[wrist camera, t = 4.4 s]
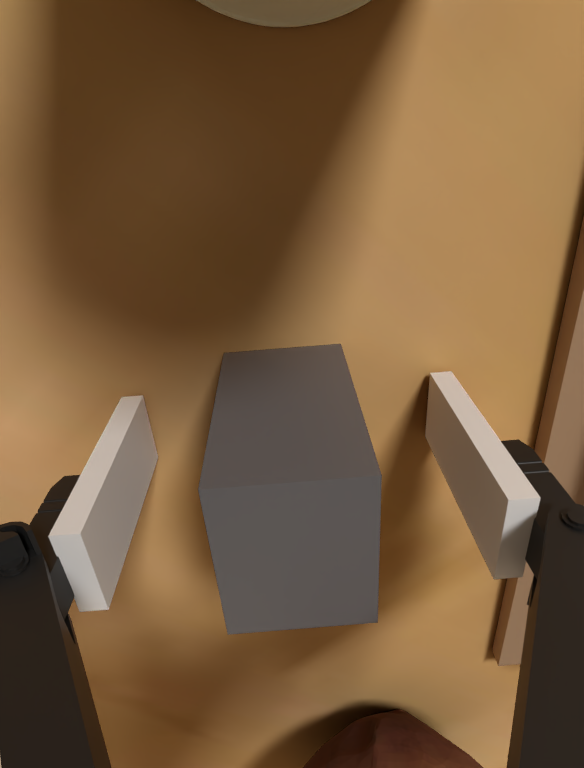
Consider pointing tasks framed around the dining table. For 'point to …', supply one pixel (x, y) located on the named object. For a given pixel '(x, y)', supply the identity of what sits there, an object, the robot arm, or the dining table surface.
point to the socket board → (553, 449)
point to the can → (283, 10)
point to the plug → (291, 493)
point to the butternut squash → (390, 745)
